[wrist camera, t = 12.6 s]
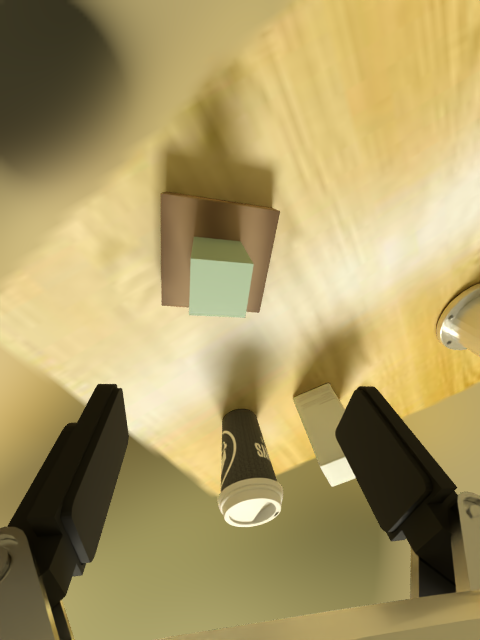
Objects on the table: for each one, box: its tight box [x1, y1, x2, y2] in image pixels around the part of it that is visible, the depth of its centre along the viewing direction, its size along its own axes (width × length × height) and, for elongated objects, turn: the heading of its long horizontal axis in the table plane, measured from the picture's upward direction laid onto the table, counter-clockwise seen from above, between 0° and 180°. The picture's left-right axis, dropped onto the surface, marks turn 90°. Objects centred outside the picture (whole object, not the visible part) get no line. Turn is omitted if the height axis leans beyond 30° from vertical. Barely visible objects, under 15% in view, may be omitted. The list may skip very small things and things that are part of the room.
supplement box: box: [293, 383, 356, 487], centre depth 41 cm, size 7×7×13 cm
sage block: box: [189, 237, 254, 318], centre depth 24 cm, size 5×5×8 cm
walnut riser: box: [161, 192, 280, 313], centre depth 29 cm, size 12×12×4 cm
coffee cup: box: [217, 409, 283, 527], centre depth 40 cm, size 10×10×15 cm
